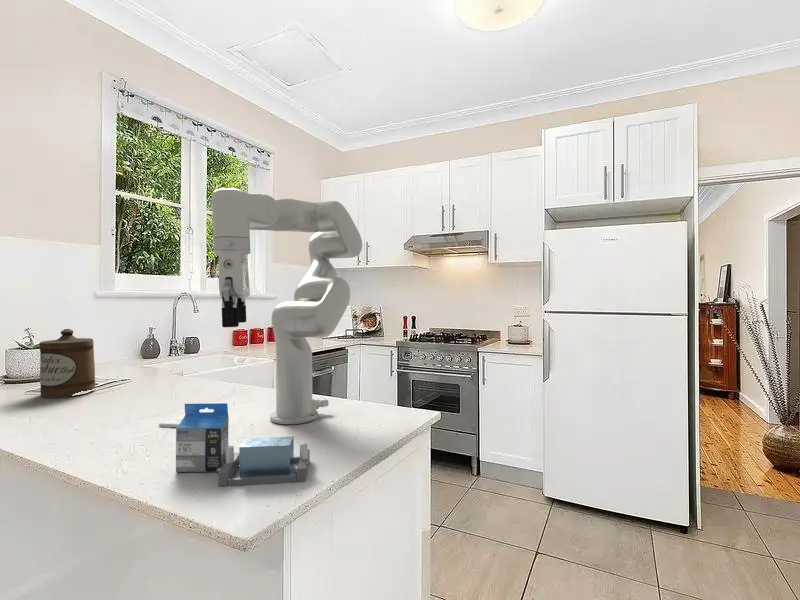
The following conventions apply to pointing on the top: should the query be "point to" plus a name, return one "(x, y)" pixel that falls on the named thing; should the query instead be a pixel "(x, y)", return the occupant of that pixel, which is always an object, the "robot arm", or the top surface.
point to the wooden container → (66, 365)
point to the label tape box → (202, 438)
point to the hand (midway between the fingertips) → (235, 324)
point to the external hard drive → (176, 420)
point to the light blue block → (266, 456)
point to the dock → (233, 464)
